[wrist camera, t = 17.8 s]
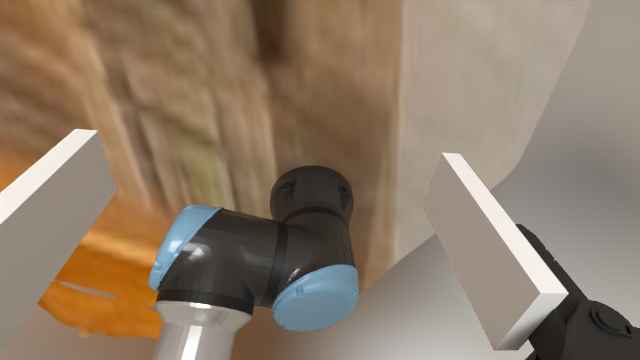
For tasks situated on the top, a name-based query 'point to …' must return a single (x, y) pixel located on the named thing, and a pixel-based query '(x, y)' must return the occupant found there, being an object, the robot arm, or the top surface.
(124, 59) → the top surface
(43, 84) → the top surface
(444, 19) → the top surface
